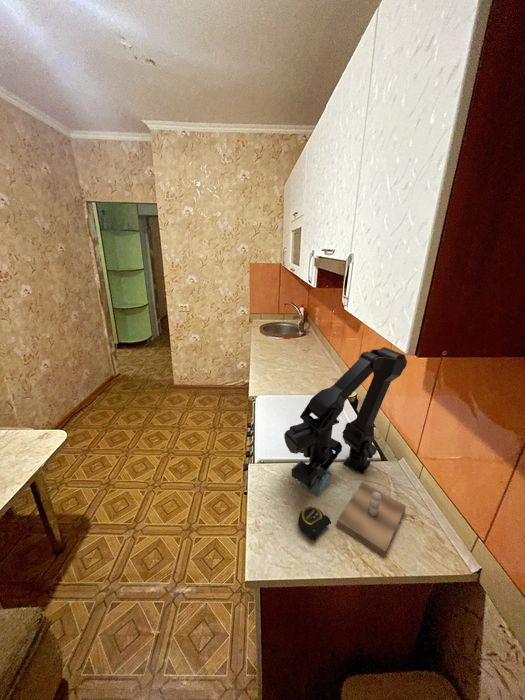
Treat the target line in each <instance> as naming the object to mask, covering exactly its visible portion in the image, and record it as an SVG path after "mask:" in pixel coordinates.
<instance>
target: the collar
mask: <svg viewBox="0 0 525 700" xmlns="http://www.w3.org/2000/svg"><path fill="white" fill-rule="evenodd" d="M316 470H317V473H318V476H320V477H319V479H318V480H317V481H316V483H315V484H314V486H313V487H312V489H309V488H308V487H307V486H306V485H305V484H303V483H301V482H300V481H299V483H300V484H299V485H300V486H301V487H303V488H305V489H306V490H307V491H310V492H311V493H312V494H314V495H316V496H317V497H321V495H322V494H323V493H324V491H325V490H326V489H327V488H328V486H329V485H330V484H331V479H332V472H331V471H329V470H328V469H327V470H325V469H324V468H322V467H320V466H319V467H318V468H317V469H316Z"/></svg>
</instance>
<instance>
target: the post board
mask: <svg viewBox="0 0 525 700" xmlns="http://www.w3.org/2000/svg"><path fill="white" fill-rule="evenodd" d="M406 509H407V505H406V504H404V503H403V502H400V501H398V500H397V499H394V498H393V497H391V496H389V495H387V494H386V493H384V492H382V491H380V490H378V489H376V488H374V487H372V486H371V485H369V484H367V483H365V482H363V481H362V482H361V484H360V485H359V487H358V489H357V490H356V491H355V493H354V495H353V496H352V497H351V499H350V501H349V502H348V503H347V505H346V506H345V507H344V509H343V510H342V511H341V514H340V516H339V517H338V518H337V520H336V525H335V526H337V527H338V528H339V529H341V530H343V531H344V532H345V533H346V534H348V535H349V536H351V537H353V538H354V539H356V540H357V541H359V542H361V543H362V544H363V545H365V546H366V547H368V548H369V549H371V550H373V551H374V552H375V553H377V554H378V555H380V556H381V557H382V558H384V557H385V555H386V553H387V550H388V549H389V546H390V545H391V542H392V540H393V537H394V535H395V534H396V531H397V529H398V527H399V524H400V523H401V520H402V517H403V515H404V514H405V511H406Z"/></svg>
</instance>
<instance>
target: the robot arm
mask: <svg viewBox="0 0 525 700" xmlns="http://www.w3.org/2000/svg"><path fill="white" fill-rule="evenodd" d="M407 364H408V360H407V358H406V355H405V354H404V353H401V352H399V351H396V350H394V349H391V348H389V347H386V346H383V347H381V348H379V349H377V348H375V349H371V350H369V351H363V352H361V354H360V356H359V358H358V359H357V361H355V363H353V364H352V365H351V367H350V368H348V370H347V371H346V372H344V374H343V375H341V377H340V378H338V379H337V381H336V382H335V383H333V384H332V385H331V386H330V387H326V388H324V389H321V390H320V391H318V392H317V393H316V394H315V395H313V396H312V398H311V399H310V400H309V402H308V404H306V407H305V408H304V409H303V410H302V413H301V414H300V416H299V418H300V419H301V420H302V421H303V422H301V423H299V424H294V425H290V426H289V429H288V430H286V431H285V432H284V434H283V436H284V437H283V438H284V442H285V445H286V447H287V449H288V450H289V453H291V454H295V455H297V454H299V453H300V454H303V457H304V458H306V459H308V461H309V463H308V464H307V463H305V462H304V461H298V462H297V463H296V464H295V465H294V466H292V468H291V469H290V470H291V471H290V475H291V477H292V478H293V479H295V480H296V481H299V483H300V482H301V483H303V484H305V485H306V486H307V487H308V488H309V489H312V487H313V486H314V484H315V483H316V481H319V477H320V476H318V473H317V470H316V469H317V468H318V467H319V466H320V467H322V468H324V469H325V470H327V471H328V470H329V468H330V467H331V466H332V464H333V463H334V461H335V460H336V459H337V458H338V456H339V455H340V453H341V452H342V451H343V445H342V443H341V442H340V441H338V440H336V439H334V438H332V435H333V434H332V433H333V429H334V425H338V424H339V423H340V420H339V419H338V417H339V416H340V415H341V414H342V412H343V411H344V408H345V402H346V401H347V400H348V398H349V397H350V396H351V395H352V394H354V392H355V391H356V390H357V389H358V388H359V387H360V386H361V385H362V384H363V383H364V382H365V381H366V380H367V378H368V377H369V376H370V375H371V374H373V376H372V378H371V382H370V384H369V386H368V389H367V391H366V394H365V396H364V399H363V401H362V404H361V406H360V408H359V411H358V413H357V416H356V418H355V419H354V420H352V421H351V422H347V423H345V427H344V429H343V431H342V433H341V434H342V439H343V441H344V443H345V444H346V445H347V446H348V447H349V454H348V457H347V458H346V459H345V461H344V462H343V465H344V466H346V467H348V468H349V469H352V470H354V471H356V472H357V473H359V474H362V475H363V474H364V473H365V472H366V470H367V469H368V467H369V466H370V465H371V461H370V460H368V459H373V457H374V455H376V454H377V451H378V447H376V445H374V444H373V442H374V438H375V434H374V428H373V427H374V423H375V420H376V418H377V415H378V414H379V411H380V409H381V406H382V404H383V401H384V399H385V397H386V395H387V393H388V391H389V388H390V385H391V383H392V382H394V380H396V379H397V378H399V377H400V376H401V375H402V374H403V371H404V370H405V368H406V367H407ZM311 414H312V415H314V416H315V417H316V418H315V417H313V416H311Z"/></svg>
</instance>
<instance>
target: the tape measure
mask: <svg viewBox="0 0 525 700" xmlns="http://www.w3.org/2000/svg"><path fill="white" fill-rule="evenodd" d="M297 522H298V527H299V529H300V531H301V533H303V534H304V535H306V536H307V537H308V538H309V539H310V540H312V541H316V540H317V538H318V537H319V536H320V534H321V533H322V532H323V531H325V530H326V528H328V527H329V525H332V521H331V518H329V516H328V515H326V514H324V513H323V511H322V510H321V509H320V508H318V507H315V506H311V505H309V506H306V507H303V508H302V509H301V510H300V512H299V514H298V521H297Z"/></svg>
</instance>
